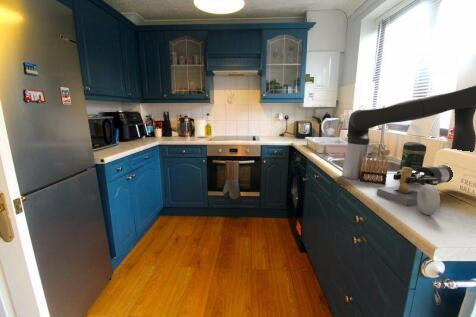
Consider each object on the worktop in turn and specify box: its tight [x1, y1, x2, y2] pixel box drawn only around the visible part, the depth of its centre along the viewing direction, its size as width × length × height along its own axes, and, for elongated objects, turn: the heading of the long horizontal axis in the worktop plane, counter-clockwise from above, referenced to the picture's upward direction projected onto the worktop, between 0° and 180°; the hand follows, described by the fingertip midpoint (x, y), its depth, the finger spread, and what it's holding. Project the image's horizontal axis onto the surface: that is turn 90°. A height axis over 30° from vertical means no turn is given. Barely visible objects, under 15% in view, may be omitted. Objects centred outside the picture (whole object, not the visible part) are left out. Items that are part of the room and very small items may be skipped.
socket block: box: [376, 185, 419, 207], centre depth 87 cm, size 12×12×2 cm
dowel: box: [398, 167, 412, 195], centre depth 86 cm, size 3×3×12 cm
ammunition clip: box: [358, 156, 389, 186], centre depth 104 cm, size 11×2×12 cm, turn 65°
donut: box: [417, 184, 441, 216], centre depth 73 cm, size 10×3×10 cm, turn 161°
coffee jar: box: [398, 141, 427, 171], centre depth 108 cm, size 10×8×19 cm
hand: (400, 178), depth 85 cm, fingers open, 4 cm apart
